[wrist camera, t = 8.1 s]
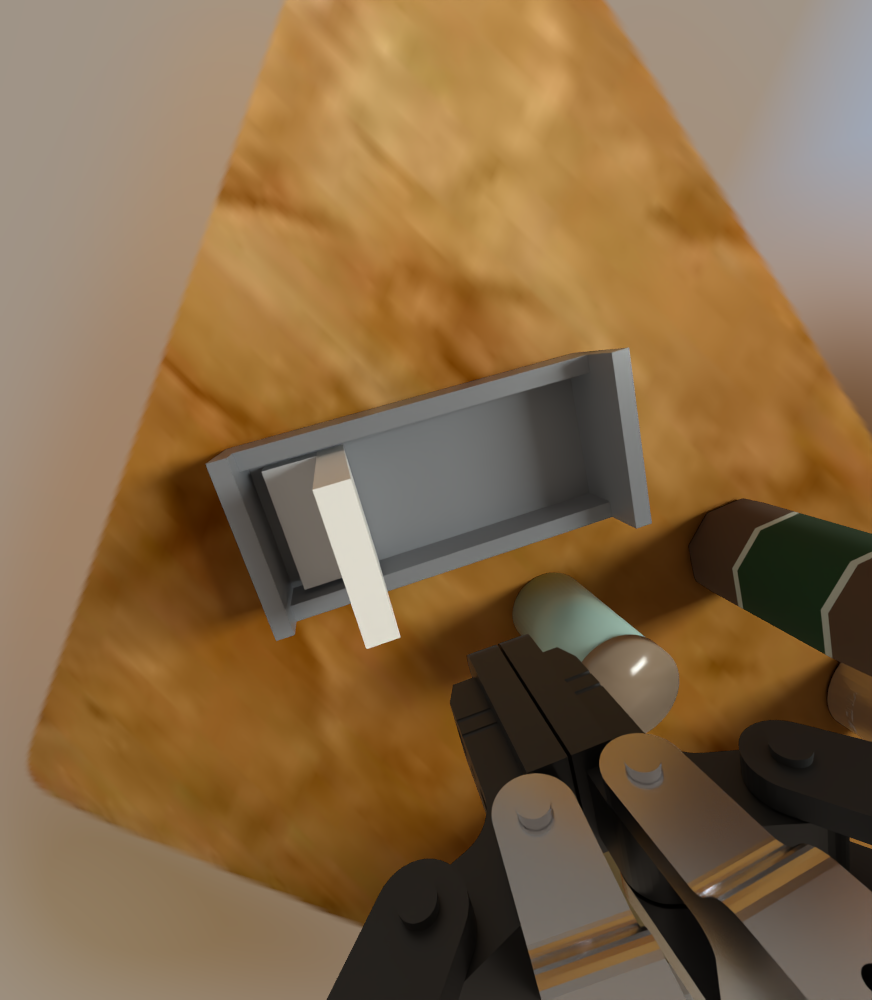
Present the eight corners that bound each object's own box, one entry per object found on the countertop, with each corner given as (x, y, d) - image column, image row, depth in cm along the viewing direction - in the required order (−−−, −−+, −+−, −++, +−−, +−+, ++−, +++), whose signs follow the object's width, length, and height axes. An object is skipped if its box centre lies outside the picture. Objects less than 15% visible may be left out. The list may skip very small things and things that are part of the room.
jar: (579, 560, 35) (673, 629, 26) (591, 629, 37) (684, 718, 27) (503, 586, 34) (571, 667, 25) (520, 655, 36) (589, 756, 26)
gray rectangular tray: (573, 353, 31) (629, 347, 26) (597, 498, 34) (651, 523, 28) (225, 449, 28) (200, 467, 22) (283, 600, 31) (274, 650, 25)
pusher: (342, 444, 28) (350, 478, 19) (377, 556, 30) (400, 637, 21) (264, 466, 28) (233, 513, 18) (305, 578, 30) (296, 673, 20)
